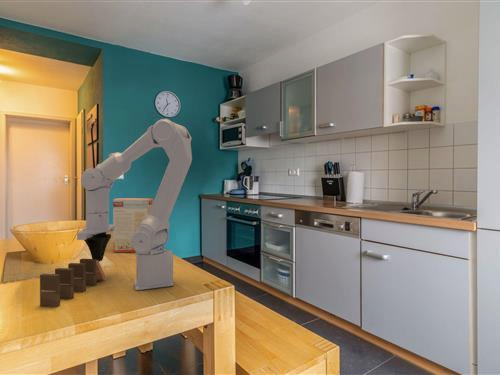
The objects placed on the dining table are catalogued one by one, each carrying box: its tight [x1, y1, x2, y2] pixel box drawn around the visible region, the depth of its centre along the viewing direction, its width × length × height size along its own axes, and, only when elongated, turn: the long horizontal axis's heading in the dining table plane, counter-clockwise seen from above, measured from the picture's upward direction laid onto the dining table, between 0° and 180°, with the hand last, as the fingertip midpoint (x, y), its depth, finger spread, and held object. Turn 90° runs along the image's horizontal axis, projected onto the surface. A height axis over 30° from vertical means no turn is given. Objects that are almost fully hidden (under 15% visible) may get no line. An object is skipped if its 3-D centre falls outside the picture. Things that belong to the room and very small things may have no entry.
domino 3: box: [67, 262, 87, 293], centre depth 77 cm, size 1×4×7 cm, turn 84°
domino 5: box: [96, 260, 107, 281], centre depth 84 cm, size 1×4×7 cm
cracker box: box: [112, 197, 154, 254], centre depth 119 cm, size 14×6×21 cm, turn 84°
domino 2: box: [54, 267, 75, 300], centre depth 72 cm, size 1×4×7 cm, turn 84°
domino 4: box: [79, 258, 98, 287], centre depth 81 cm, size 1×4×7 cm, turn 84°
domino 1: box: [39, 273, 61, 308], centre depth 68 cm, size 1×4×7 cm, turn 84°
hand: (97, 260), depth 85 cm, fingers closed
